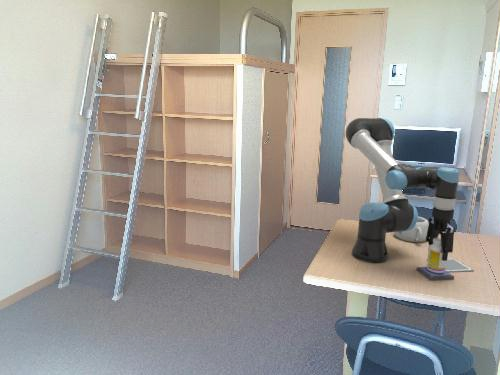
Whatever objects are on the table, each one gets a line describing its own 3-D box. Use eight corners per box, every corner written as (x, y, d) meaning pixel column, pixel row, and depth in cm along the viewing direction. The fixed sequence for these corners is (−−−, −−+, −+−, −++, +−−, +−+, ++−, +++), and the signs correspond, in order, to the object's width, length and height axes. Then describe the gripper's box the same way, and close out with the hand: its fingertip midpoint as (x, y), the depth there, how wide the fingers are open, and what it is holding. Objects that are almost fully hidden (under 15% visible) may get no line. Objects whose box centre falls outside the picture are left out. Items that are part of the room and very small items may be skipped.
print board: (444, 272, 173) (445, 271, 173) (426, 260, 185) (426, 259, 185) (473, 271, 175) (473, 270, 175) (453, 259, 187) (454, 258, 187)
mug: (389, 231, 223) (391, 213, 221) (421, 233, 222) (424, 214, 220) (401, 246, 202) (404, 226, 200) (437, 247, 201) (440, 227, 199)
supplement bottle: (446, 274, 166) (450, 243, 163) (428, 272, 167) (432, 241, 165) (442, 268, 173) (446, 237, 170) (425, 266, 174) (429, 236, 171)
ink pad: (430, 280, 165) (430, 276, 164) (416, 270, 174) (416, 266, 174) (453, 279, 166) (454, 275, 166) (438, 269, 176) (439, 265, 176)
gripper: (469, 214, 156) (460, 273, 161) (437, 201, 174) (430, 254, 179) (450, 215, 154) (442, 274, 159) (420, 201, 173) (414, 255, 178)
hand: (436, 263), depth 169 cm, fingers closed on supplement bottle, 7 cm apart
